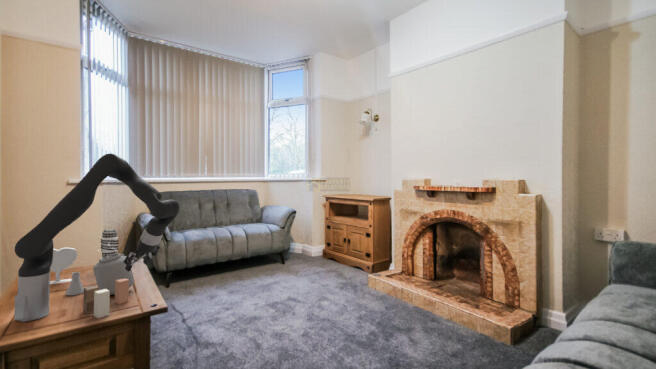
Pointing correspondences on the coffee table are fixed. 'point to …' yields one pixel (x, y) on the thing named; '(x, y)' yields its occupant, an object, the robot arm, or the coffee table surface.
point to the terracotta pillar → (121, 291)
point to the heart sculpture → (62, 262)
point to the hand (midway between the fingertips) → (136, 266)
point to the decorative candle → (109, 242)
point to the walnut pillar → (89, 299)
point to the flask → (75, 285)
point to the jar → (111, 272)
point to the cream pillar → (101, 303)
